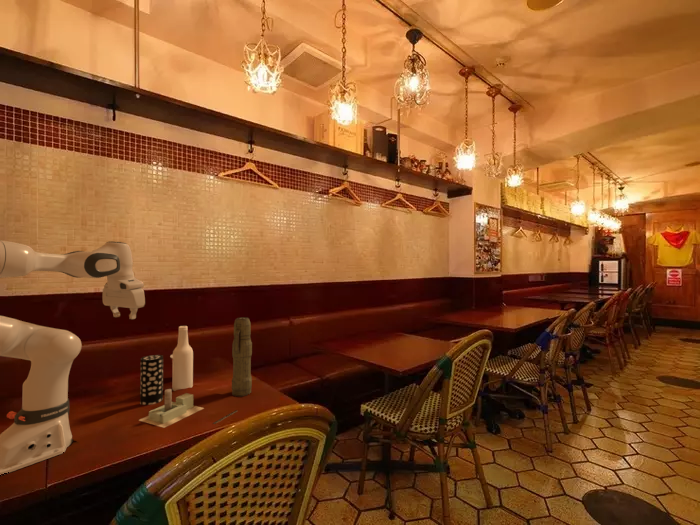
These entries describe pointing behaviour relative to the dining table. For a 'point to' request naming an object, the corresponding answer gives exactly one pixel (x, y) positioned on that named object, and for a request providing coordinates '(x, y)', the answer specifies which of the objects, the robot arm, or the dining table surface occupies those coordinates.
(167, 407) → the post stand
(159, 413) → the link
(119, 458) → the dining table surface
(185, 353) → the alcohol
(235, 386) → the stone moai statue
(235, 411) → the mat
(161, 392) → the white-spotted black cylinder
